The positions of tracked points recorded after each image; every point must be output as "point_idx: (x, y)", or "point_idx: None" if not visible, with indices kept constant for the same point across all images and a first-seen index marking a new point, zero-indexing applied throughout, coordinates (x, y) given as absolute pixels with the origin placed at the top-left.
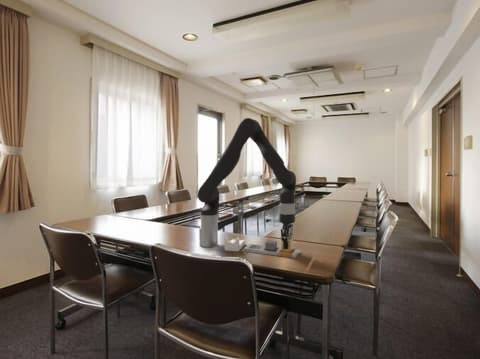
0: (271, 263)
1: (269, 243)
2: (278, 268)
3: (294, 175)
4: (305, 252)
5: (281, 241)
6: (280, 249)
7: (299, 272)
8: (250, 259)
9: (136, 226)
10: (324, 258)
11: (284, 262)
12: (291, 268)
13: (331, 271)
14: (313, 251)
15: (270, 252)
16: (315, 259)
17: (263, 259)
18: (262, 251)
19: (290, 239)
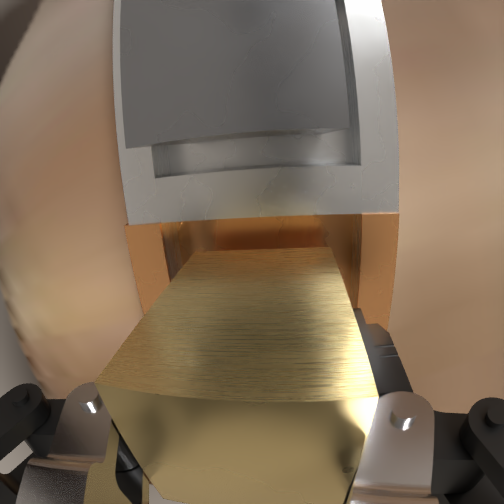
0: (26, 216)
1: (124, 48)
2: (5, 290)
3: None
4: (435, 382)
5: (130, 337)
6: (287, 207)
7: (44, 390)
8: (30, 30)
9: None
10: None
11: (93, 301)
12: (49, 356)
13: (151, 484)
14: (462, 409)
15: (121, 122)
16: None
17: (59, 108)
18: (119, 21)
19: (162, 495)
